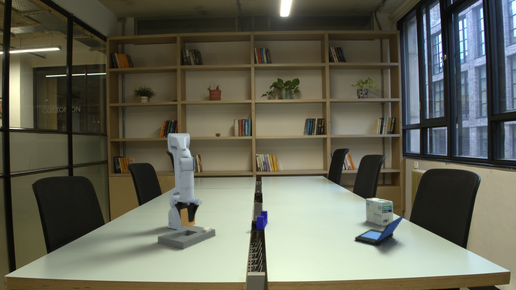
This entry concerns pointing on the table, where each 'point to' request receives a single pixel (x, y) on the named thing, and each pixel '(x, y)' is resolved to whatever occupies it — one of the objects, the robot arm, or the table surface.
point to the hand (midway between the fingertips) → (187, 221)
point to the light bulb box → (379, 211)
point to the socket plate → (186, 236)
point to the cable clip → (262, 220)
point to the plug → (186, 219)
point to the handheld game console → (378, 234)
